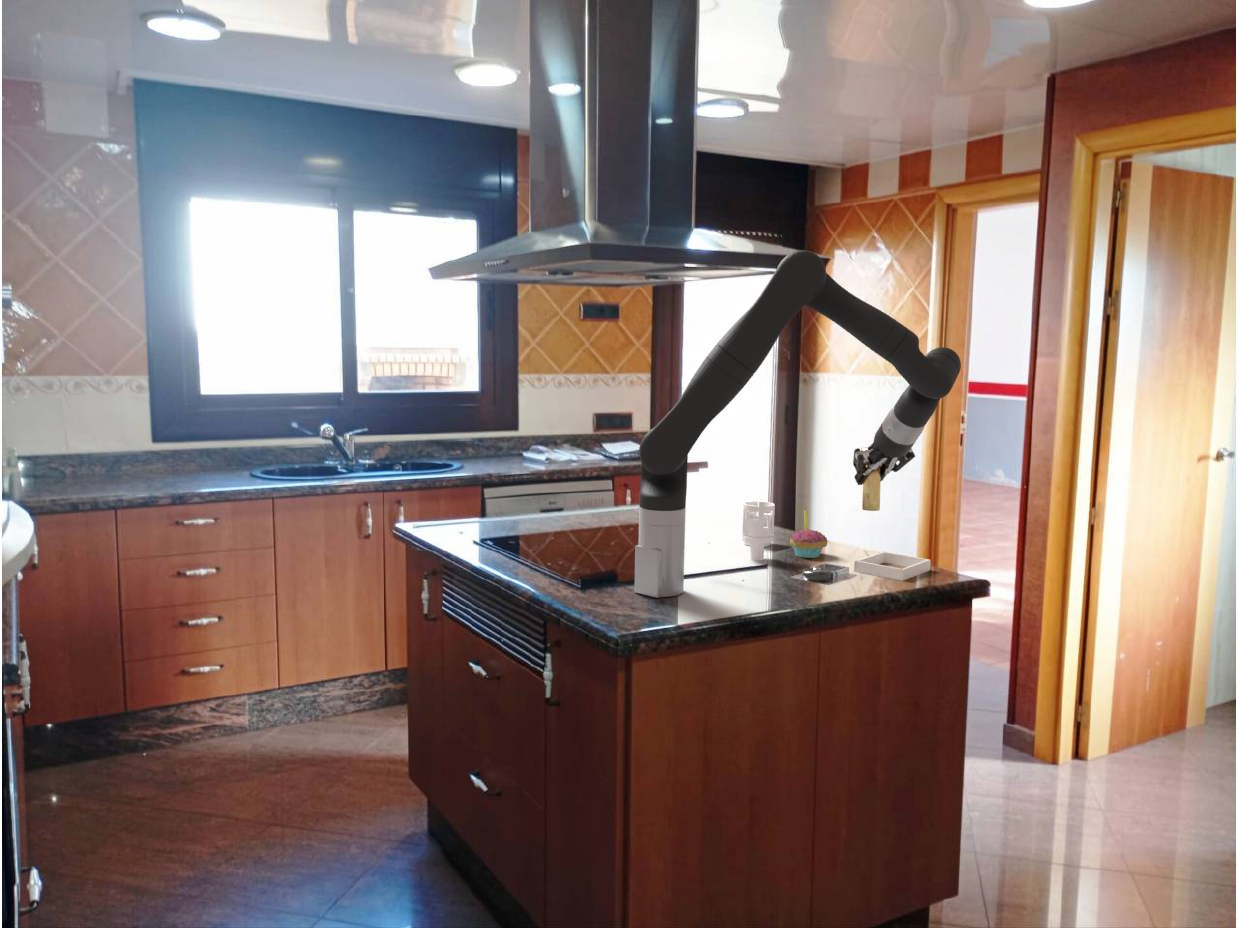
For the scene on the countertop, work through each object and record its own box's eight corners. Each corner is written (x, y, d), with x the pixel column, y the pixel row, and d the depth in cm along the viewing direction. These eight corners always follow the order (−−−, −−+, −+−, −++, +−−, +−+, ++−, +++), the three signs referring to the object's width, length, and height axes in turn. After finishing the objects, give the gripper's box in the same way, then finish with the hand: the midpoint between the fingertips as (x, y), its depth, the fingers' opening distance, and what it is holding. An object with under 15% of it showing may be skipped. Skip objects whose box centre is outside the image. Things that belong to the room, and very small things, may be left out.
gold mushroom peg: (875, 512, 206) (877, 450, 204) (855, 509, 209) (857, 448, 207) (886, 509, 209) (887, 448, 207) (866, 506, 212) (867, 446, 210)
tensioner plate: (827, 590, 200) (828, 574, 200) (789, 582, 206) (790, 566, 206) (856, 580, 209) (857, 564, 208) (819, 572, 215) (820, 557, 214)
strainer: (743, 567, 219) (745, 501, 217) (738, 560, 226) (740, 495, 224) (775, 567, 219) (777, 501, 217) (769, 560, 226) (771, 496, 224)
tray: (902, 586, 205) (902, 569, 204) (853, 576, 212) (854, 560, 212) (929, 575, 214) (930, 559, 214) (882, 566, 222) (883, 551, 221)
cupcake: (782, 557, 230) (784, 506, 228) (813, 554, 233) (815, 505, 231) (801, 565, 222) (803, 513, 220) (833, 563, 225) (836, 511, 223)
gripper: (923, 414, 201) (888, 466, 214) (862, 416, 197) (831, 468, 210) (938, 442, 197) (902, 493, 210) (876, 445, 193) (843, 497, 206)
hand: (866, 481), depth 210 cm, fingers closed on gold mushroom peg, 3 cm apart
